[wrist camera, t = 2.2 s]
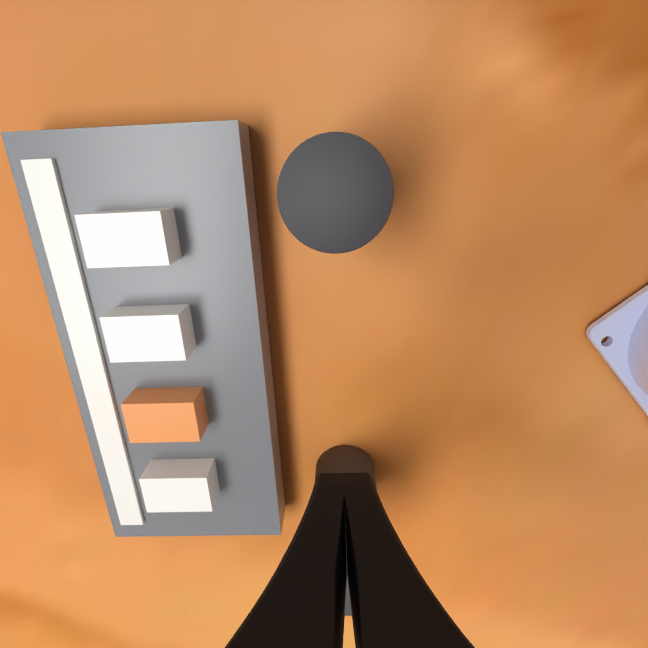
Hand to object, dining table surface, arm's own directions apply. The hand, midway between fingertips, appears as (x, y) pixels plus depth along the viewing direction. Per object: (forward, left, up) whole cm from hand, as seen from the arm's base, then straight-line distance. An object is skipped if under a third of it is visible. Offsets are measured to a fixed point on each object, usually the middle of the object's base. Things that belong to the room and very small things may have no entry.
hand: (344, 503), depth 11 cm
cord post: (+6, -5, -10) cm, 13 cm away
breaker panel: (+5, +6, -10) cm, 13 cm away
